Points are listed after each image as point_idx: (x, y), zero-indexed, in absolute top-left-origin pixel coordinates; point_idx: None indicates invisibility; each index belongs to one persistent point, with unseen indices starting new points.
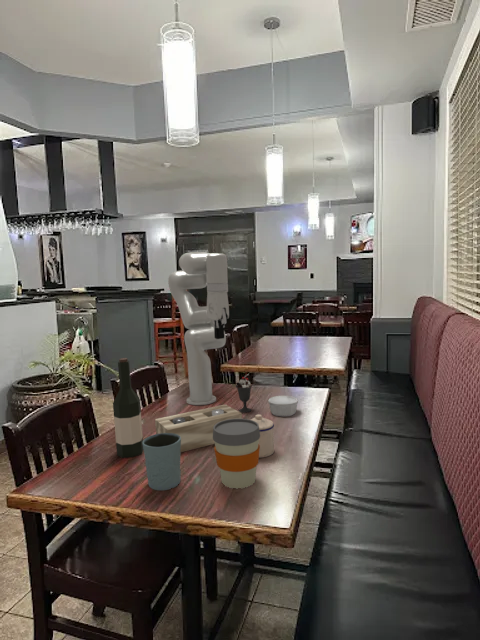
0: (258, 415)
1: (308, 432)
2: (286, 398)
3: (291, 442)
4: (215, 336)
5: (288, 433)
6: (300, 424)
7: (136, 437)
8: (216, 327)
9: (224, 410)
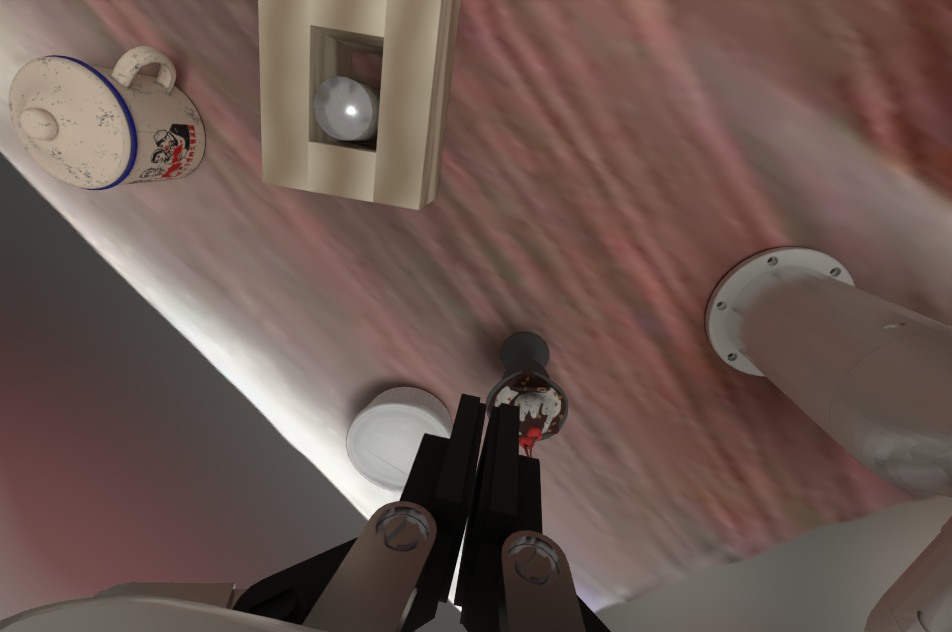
0: (29, 122)
1: (220, 349)
2: (403, 467)
3: (180, 259)
4: (498, 418)
5: (246, 304)
6: (288, 380)
7: None
8: (433, 519)
9: (344, 149)
